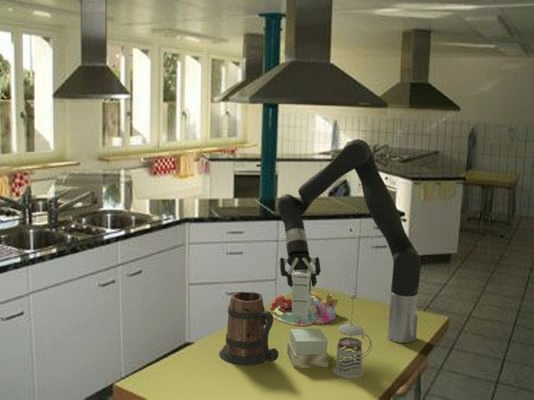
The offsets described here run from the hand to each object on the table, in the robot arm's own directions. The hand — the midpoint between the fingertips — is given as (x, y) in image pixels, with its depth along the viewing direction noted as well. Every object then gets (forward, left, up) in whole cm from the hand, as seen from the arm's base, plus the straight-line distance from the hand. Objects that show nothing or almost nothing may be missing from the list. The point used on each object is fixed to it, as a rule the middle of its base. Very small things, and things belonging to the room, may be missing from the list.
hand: (302, 285), depth 196 cm
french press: (-12, +21, -21) cm, 32 cm away
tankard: (+18, +9, -21) cm, 29 cm away
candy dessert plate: (-8, -28, -22) cm, 37 cm away
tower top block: (0, +12, -17) cm, 21 cm away
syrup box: (0, -2, -10) cm, 10 cm away
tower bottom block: (0, +12, -22) cm, 25 cm away
